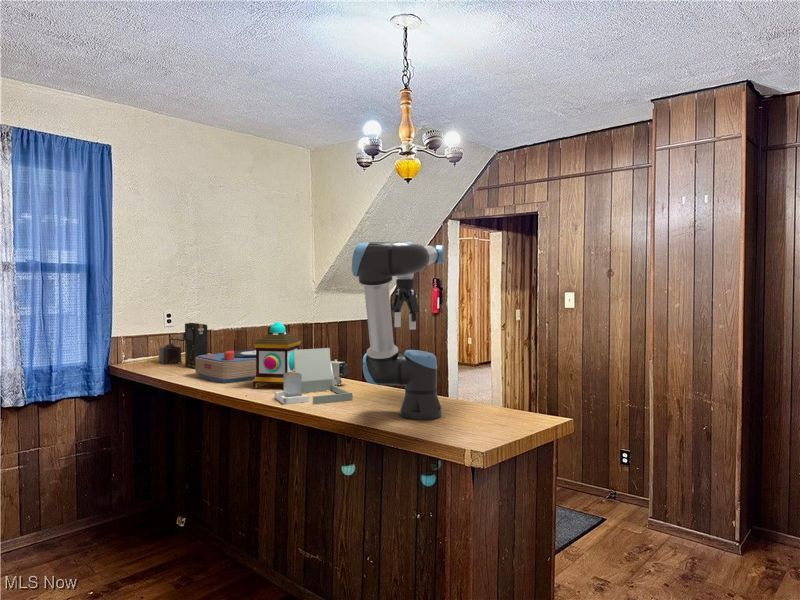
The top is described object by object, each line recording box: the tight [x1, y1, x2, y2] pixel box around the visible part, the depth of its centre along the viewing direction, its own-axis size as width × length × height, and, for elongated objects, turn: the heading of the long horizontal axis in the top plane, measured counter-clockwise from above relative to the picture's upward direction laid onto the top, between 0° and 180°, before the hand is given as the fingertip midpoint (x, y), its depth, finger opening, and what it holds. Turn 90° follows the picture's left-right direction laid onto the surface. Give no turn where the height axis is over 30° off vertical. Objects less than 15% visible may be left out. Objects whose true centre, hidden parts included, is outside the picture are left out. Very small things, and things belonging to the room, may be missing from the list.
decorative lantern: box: [252, 321, 302, 389], centre depth 260 cm, size 20×20×30 cm
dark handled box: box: [158, 332, 185, 365], centre depth 336 cm, size 16×11×18 cm
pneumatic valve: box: [330, 359, 349, 386], centre depth 263 cm, size 6×12×12 cm, turn 60°
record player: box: [195, 348, 256, 384], centre depth 292 cm, size 44×36×15 cm
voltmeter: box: [184, 322, 209, 370], centre depth 317 cm, size 16×9×25 cm, turn 43°
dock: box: [274, 390, 309, 406], centre depth 230 cm, size 14×10×2 cm
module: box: [283, 372, 303, 398], centre depth 230 cm, size 6×6×11 cm
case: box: [293, 347, 353, 405], centre depth 237 cm, size 27×18×19 cm, turn 27°
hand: (404, 328), depth 240 cm, fingers open, 13 cm apart
